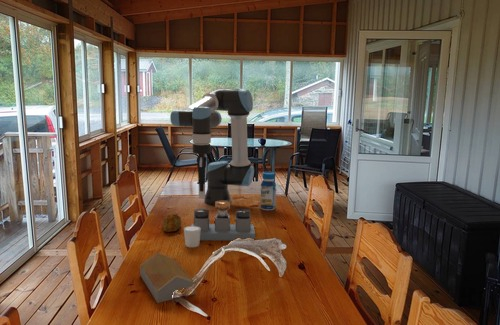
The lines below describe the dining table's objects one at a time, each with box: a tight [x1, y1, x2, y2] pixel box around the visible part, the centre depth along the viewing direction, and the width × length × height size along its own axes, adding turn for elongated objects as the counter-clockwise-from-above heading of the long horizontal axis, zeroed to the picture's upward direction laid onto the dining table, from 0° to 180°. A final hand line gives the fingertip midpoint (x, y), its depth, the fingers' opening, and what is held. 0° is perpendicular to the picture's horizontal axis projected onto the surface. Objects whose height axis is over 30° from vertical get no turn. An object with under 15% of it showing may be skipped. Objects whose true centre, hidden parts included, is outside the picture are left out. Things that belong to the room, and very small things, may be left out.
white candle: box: [183, 225, 201, 248], centre depth 159 cm, size 7×7×7 cm
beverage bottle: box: [259, 171, 277, 211], centre depth 212 cm, size 8×8×20 cm
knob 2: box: [235, 208, 252, 219], centre depth 170 cm, size 6×6×7 cm
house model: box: [139, 252, 197, 304], centre depth 125 cm, size 20×12×8 cm, turn 29°
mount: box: [190, 213, 256, 241], centre depth 170 cm, size 12×28×8 cm, turn 93°
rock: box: [162, 212, 182, 233], centre depth 177 cm, size 11×8×10 cm
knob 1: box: [193, 208, 210, 218], centre depth 169 cm, size 6×6×7 cm
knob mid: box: [214, 200, 231, 218], centre depth 169 cm, size 6×6×7 cm
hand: (201, 198), depth 168 cm, fingers closed
